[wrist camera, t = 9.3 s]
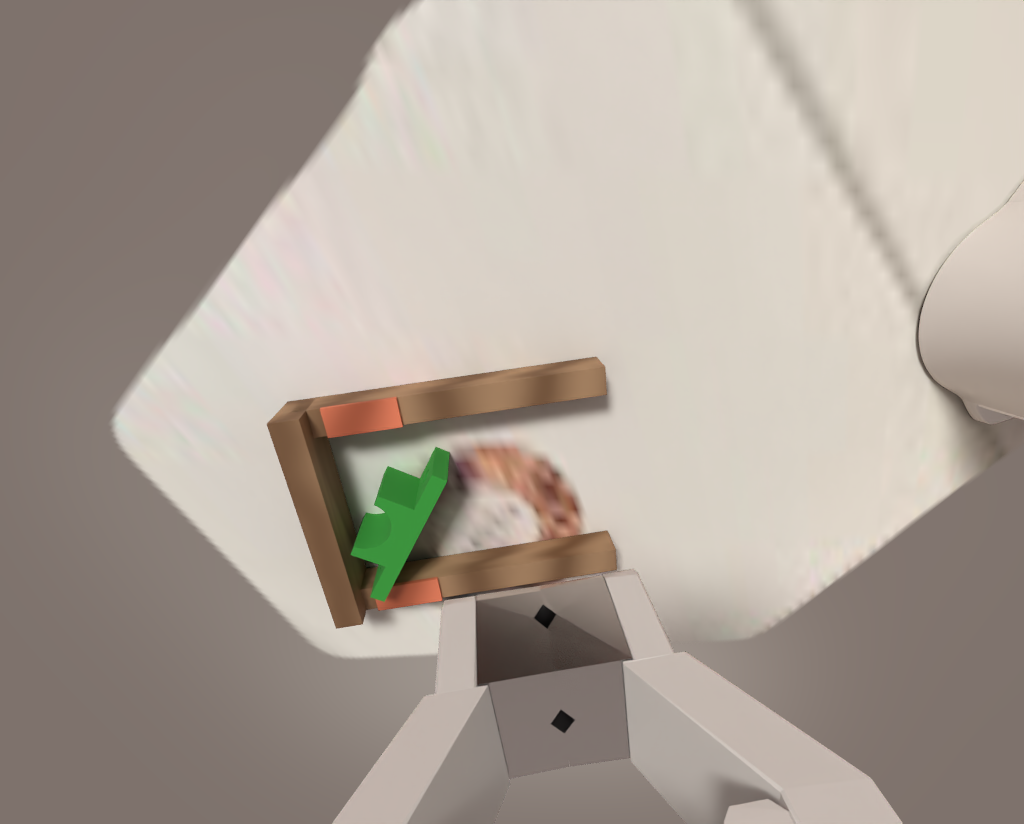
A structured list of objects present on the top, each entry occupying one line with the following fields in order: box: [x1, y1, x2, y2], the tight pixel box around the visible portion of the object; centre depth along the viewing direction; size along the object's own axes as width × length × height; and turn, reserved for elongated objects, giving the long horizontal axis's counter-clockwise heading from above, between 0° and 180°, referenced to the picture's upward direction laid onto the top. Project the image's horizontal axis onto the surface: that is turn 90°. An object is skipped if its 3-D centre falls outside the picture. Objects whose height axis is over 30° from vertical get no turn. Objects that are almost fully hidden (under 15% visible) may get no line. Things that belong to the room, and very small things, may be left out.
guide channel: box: [267, 357, 617, 628], centre depth 37 cm, size 22×17×4 cm
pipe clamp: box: [351, 447, 450, 602], centre depth 37 cm, size 11×4×5 cm, turn 153°
